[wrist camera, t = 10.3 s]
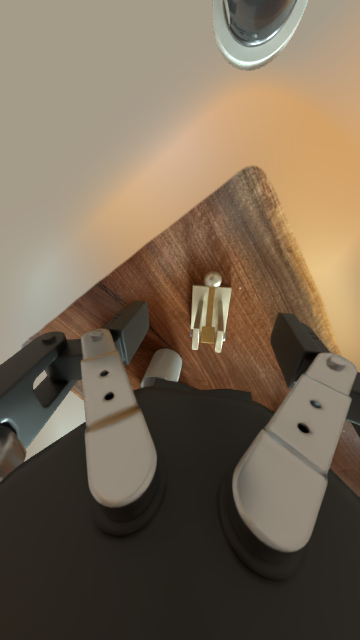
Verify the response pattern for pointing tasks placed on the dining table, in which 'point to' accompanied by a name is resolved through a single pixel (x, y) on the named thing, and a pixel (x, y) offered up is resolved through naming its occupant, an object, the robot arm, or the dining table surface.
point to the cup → (163, 367)
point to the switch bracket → (200, 313)
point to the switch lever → (210, 305)
